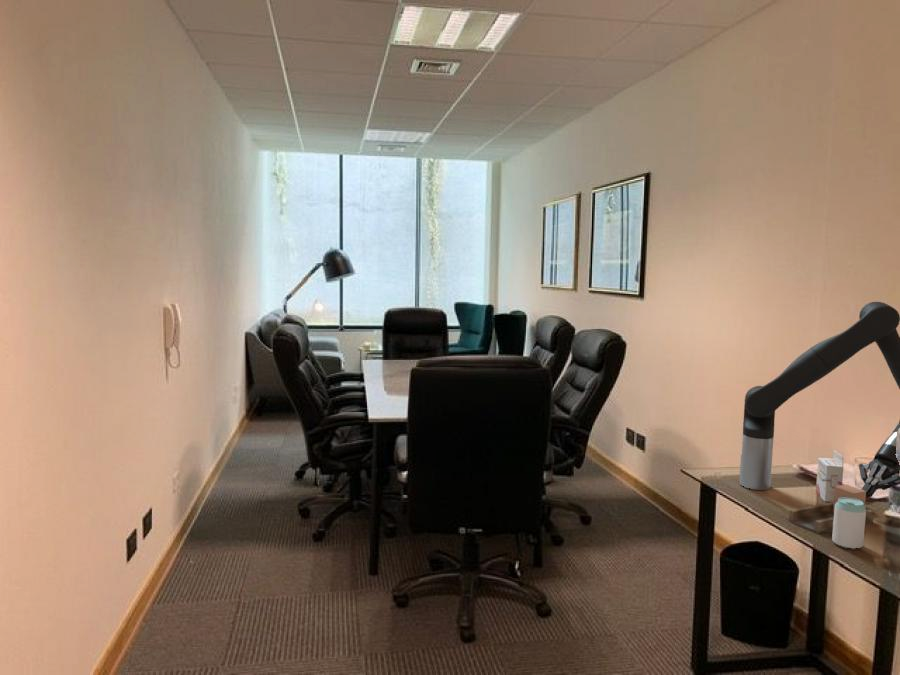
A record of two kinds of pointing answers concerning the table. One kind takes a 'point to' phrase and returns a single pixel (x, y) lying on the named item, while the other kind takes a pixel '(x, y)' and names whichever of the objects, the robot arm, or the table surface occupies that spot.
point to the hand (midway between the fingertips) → (864, 496)
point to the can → (849, 523)
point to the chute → (819, 517)
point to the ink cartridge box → (829, 476)
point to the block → (848, 493)
